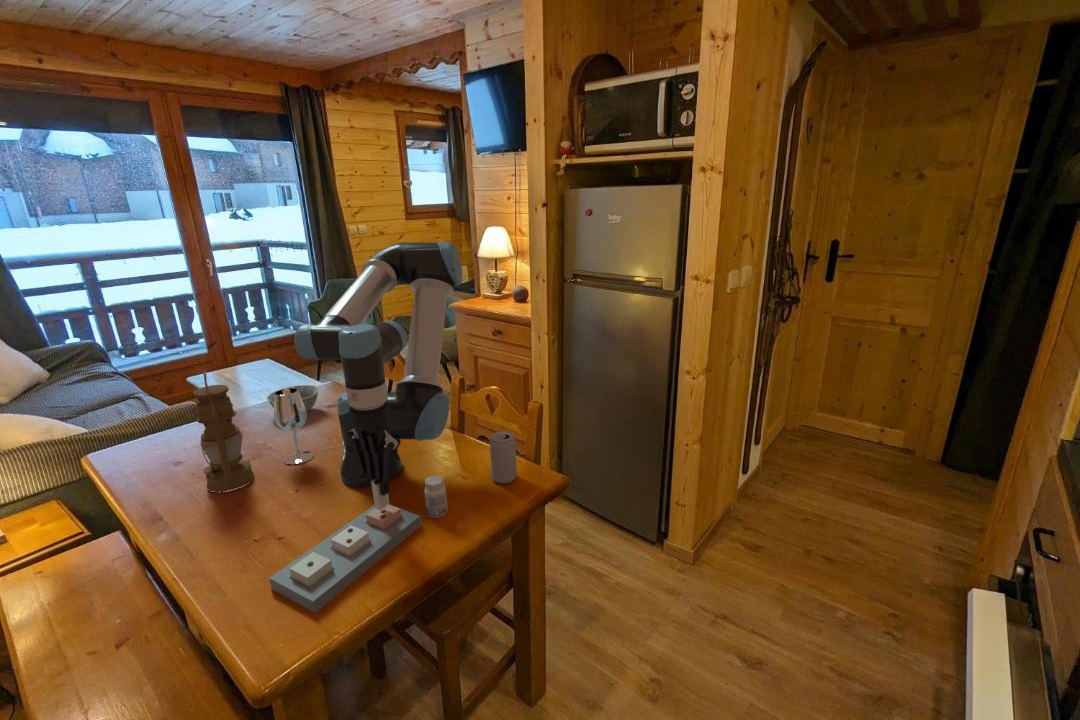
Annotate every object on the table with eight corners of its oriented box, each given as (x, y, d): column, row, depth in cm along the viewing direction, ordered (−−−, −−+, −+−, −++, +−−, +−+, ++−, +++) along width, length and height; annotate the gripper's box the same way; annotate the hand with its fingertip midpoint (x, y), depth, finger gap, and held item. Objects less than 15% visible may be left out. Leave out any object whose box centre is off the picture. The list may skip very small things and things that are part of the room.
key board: (315, 613, 85) (312, 601, 84) (271, 589, 91) (269, 578, 90) (421, 525, 108) (419, 515, 107) (381, 510, 113) (379, 501, 112)
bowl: (259, 422, 161) (255, 401, 158) (290, 403, 176) (287, 383, 173) (304, 425, 158) (300, 403, 156) (331, 405, 173) (328, 385, 171)
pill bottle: (428, 506, 114) (424, 474, 112) (448, 505, 115) (446, 473, 112) (425, 519, 110) (421, 486, 107) (447, 517, 110) (443, 485, 108)
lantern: (196, 481, 127) (167, 371, 118) (239, 464, 135) (215, 360, 125) (221, 501, 118) (191, 384, 109) (265, 482, 126) (241, 371, 117)
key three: (384, 532, 103) (383, 520, 102) (367, 525, 105) (365, 513, 104) (401, 519, 107) (400, 507, 106) (384, 512, 109) (383, 501, 108)
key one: (310, 589, 88) (307, 576, 87) (292, 580, 90) (289, 567, 89) (333, 572, 92) (330, 559, 91) (315, 563, 94) (313, 550, 93)
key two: (350, 558, 95) (348, 546, 95) (332, 550, 98) (330, 538, 97) (370, 543, 100) (368, 531, 99) (352, 536, 102) (350, 524, 101)
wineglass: (276, 462, 135) (262, 395, 129) (299, 449, 142) (287, 384, 136) (298, 467, 132) (284, 398, 126) (320, 454, 139) (308, 388, 133)
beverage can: (513, 486, 122) (511, 442, 118) (488, 483, 123) (486, 440, 119) (519, 473, 128) (518, 431, 124) (495, 470, 129) (493, 429, 125)
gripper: (330, 404, 97) (346, 507, 105) (378, 416, 91) (392, 524, 99) (359, 391, 104) (373, 489, 111) (406, 402, 98) (417, 504, 105)
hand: (382, 505), depth 105 cm, fingers closed
